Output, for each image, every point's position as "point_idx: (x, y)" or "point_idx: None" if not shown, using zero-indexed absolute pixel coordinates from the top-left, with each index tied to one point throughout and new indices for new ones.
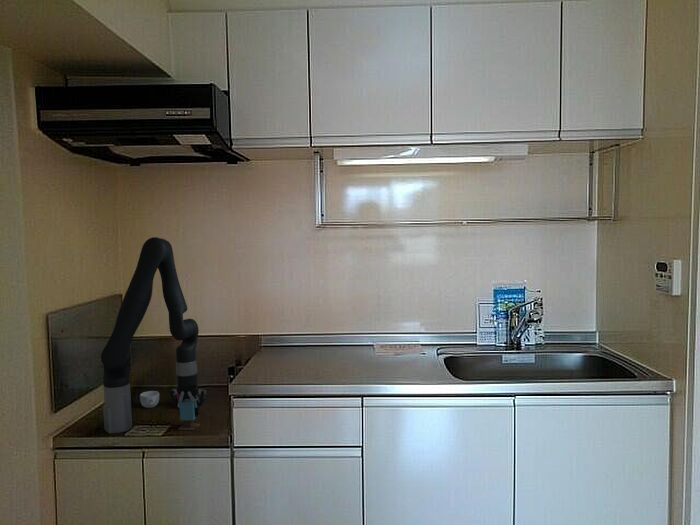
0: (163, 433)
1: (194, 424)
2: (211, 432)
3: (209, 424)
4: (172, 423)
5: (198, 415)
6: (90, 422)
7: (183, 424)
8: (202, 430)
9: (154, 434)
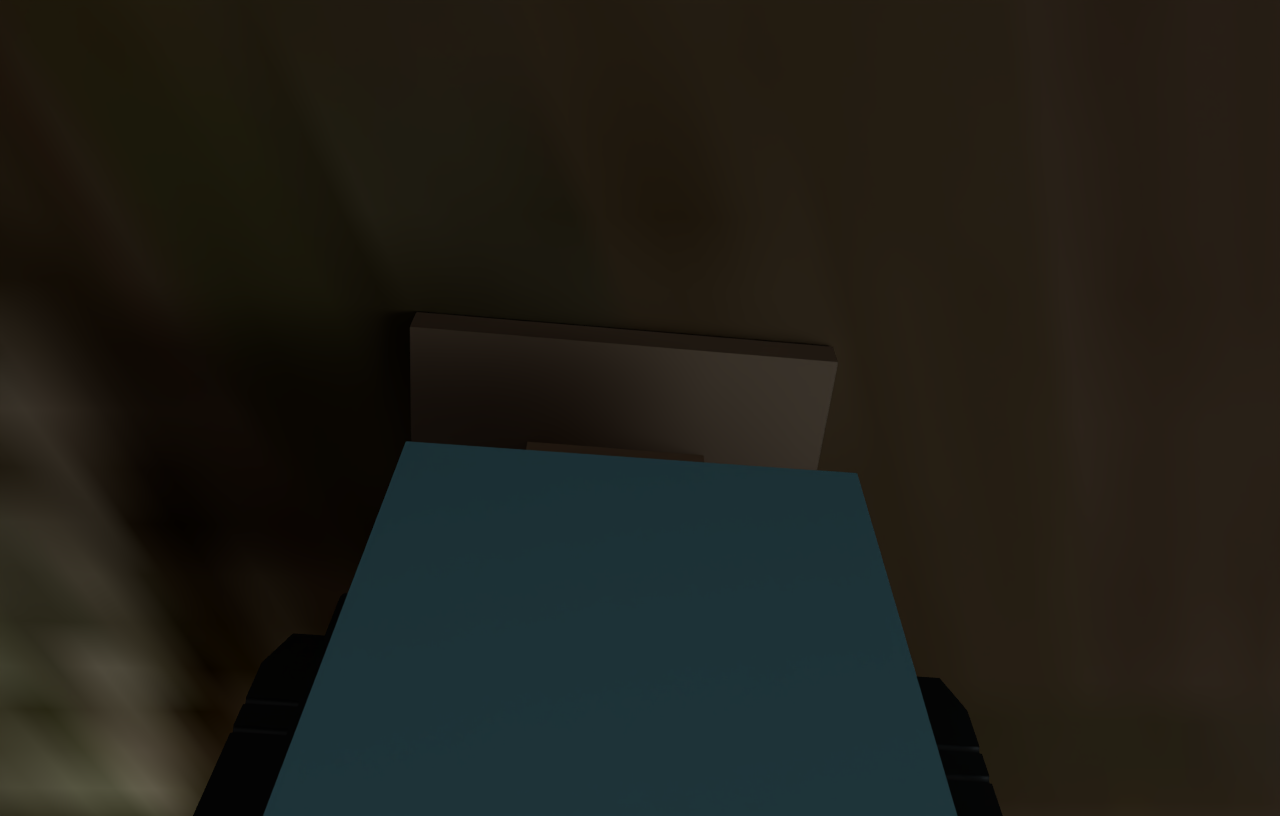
0: (190, 764)
1: (714, 423)
2: (1173, 737)
3: (1090, 317)
4: (30, 229)
5: (855, 498)
6: None
7: (418, 414)
8: (966, 649)
9: (38, 799)
